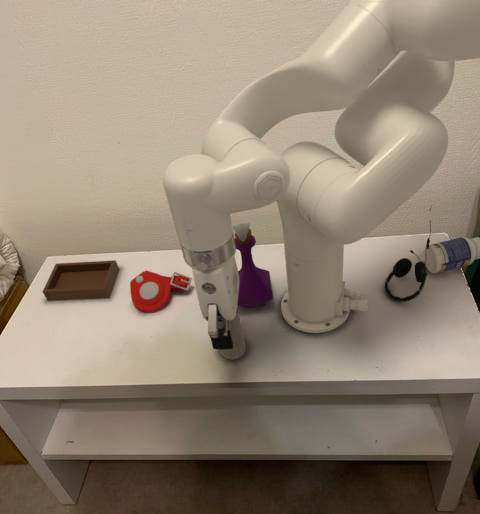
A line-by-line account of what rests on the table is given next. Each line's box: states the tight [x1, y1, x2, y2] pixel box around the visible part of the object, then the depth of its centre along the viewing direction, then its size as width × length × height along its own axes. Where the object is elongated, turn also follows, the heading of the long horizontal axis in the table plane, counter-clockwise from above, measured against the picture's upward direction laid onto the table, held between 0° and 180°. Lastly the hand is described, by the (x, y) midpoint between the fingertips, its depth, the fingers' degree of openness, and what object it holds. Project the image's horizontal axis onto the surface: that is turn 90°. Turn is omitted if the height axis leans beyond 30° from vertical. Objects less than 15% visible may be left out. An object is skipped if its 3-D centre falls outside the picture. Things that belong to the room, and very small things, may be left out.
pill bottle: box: [423, 236, 480, 274], centre depth 89 cm, size 5×5×10 cm
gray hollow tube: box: [218, 306, 247, 361], centre depth 81 cm, size 4×4×10 cm
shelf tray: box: [42, 259, 120, 301], centre depth 101 cm, size 14×9×3 cm, turn 86°
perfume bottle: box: [232, 222, 274, 309], centre depth 86 cm, size 8×8×18 cm
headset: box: [384, 205, 433, 303], centre depth 86 cm, size 7×7×20 cm
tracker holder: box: [129, 270, 193, 313], centre depth 96 cm, size 12×4×10 cm
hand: (226, 325), depth 80 cm, fingers open, 9 cm apart
